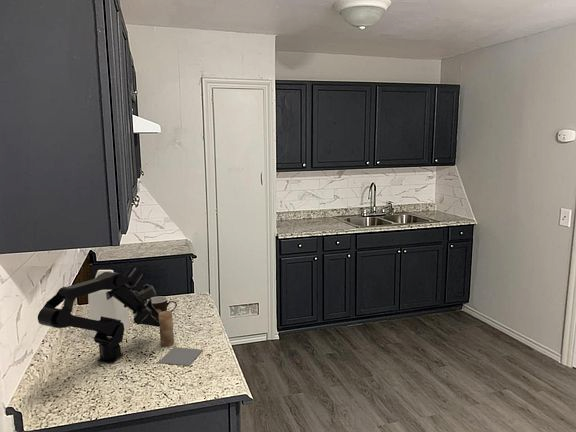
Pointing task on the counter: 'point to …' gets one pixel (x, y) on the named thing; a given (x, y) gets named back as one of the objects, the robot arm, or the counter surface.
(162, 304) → the coffee mug
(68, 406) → the counter surface
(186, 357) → the mat
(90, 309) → the milk
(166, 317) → the pepper mill
